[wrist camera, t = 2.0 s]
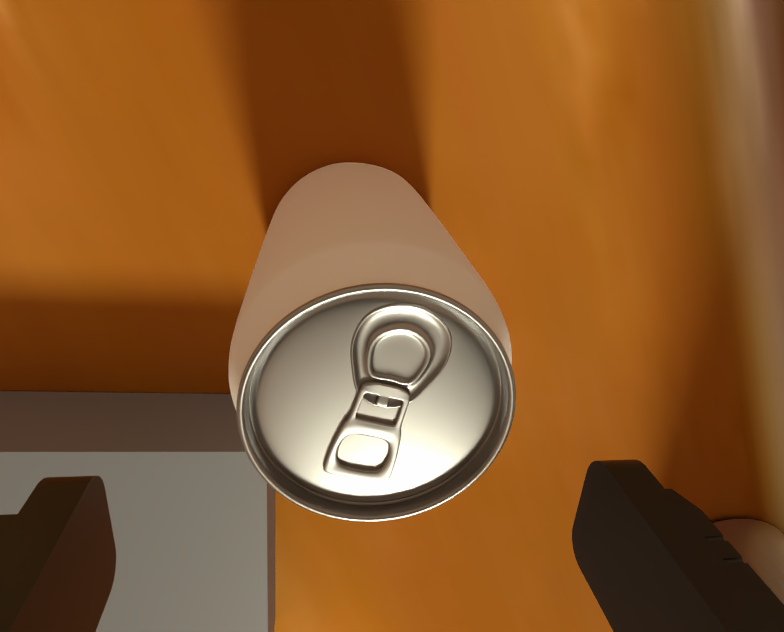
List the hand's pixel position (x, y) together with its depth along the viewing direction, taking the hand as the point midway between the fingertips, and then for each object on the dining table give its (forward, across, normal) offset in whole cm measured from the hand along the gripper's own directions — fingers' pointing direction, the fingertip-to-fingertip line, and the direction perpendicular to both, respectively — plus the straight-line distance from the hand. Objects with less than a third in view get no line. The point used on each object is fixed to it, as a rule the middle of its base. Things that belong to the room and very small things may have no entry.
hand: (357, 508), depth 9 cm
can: (+14, -1, 0) cm, 14 cm away
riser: (+14, +10, +13) cm, 22 cm away
